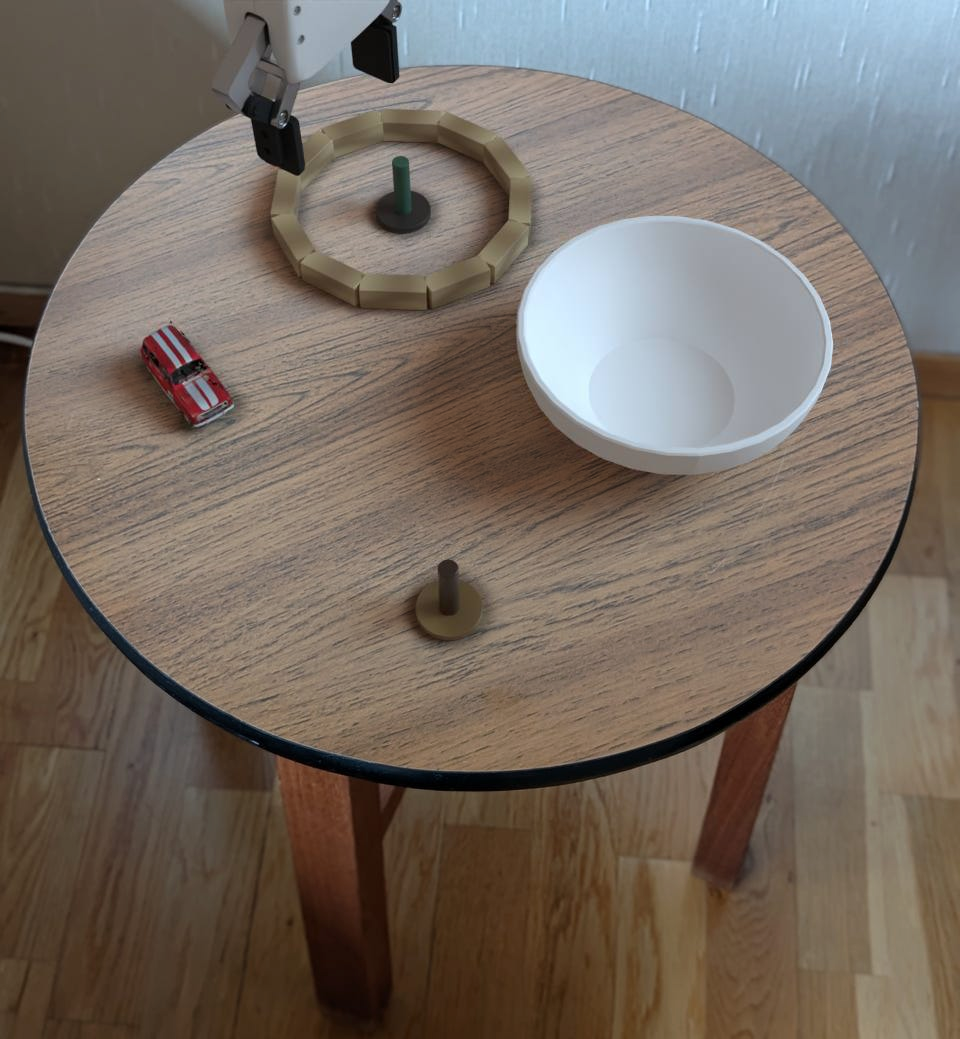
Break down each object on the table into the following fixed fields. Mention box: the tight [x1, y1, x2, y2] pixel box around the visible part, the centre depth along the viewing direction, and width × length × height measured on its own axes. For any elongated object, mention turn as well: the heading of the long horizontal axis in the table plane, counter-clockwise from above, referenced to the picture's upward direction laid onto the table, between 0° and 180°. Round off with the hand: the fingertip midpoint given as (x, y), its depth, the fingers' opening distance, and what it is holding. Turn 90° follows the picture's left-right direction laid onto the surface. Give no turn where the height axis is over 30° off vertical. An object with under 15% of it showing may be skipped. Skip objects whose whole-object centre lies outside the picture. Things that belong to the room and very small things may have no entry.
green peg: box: [375, 155, 432, 234], centre depth 96 cm, size 4×4×5 cm
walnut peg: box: [415, 558, 484, 641], centre depth 78 cm, size 4×4×5 cm
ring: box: [269, 108, 533, 311], centre depth 97 cm, size 19×19×2 cm
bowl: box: [516, 215, 834, 476], centre depth 85 cm, size 20×20×7 cm
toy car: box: [139, 320, 235, 429], centre depth 88 cm, size 4×8×3 cm, turn 36°
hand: (330, 118), depth 82 cm, fingers open, 9 cm apart
